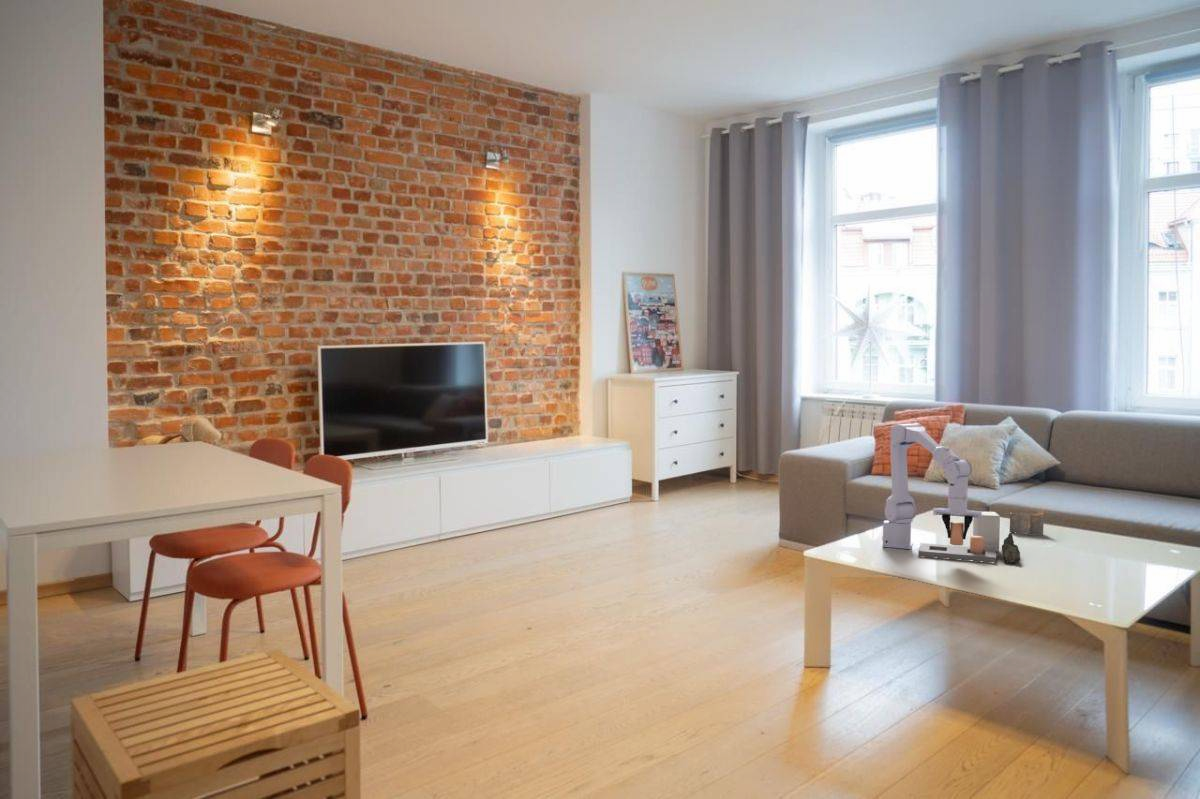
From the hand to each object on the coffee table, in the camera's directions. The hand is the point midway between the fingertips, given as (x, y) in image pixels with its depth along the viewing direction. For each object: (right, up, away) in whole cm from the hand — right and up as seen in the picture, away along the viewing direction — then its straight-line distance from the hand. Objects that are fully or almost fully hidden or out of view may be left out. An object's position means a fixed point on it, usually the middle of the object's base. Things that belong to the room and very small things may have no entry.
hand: (956, 538), depth 289 cm
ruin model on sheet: (+43, -6, +43) cm, 61 cm away
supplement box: (+18, -7, +20) cm, 28 cm away
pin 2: (+10, -8, +8) cm, 15 cm away
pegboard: (+4, -8, +11) cm, 14 cm away
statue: (+21, -8, +8) cm, 24 cm away
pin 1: (0, -2, 0) cm, 2 cm away
